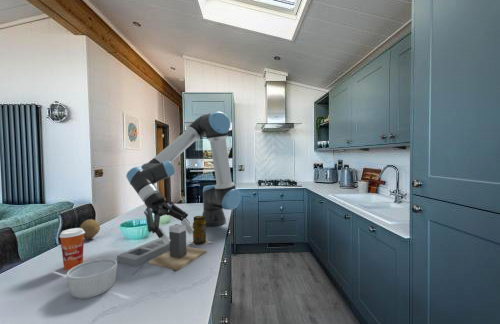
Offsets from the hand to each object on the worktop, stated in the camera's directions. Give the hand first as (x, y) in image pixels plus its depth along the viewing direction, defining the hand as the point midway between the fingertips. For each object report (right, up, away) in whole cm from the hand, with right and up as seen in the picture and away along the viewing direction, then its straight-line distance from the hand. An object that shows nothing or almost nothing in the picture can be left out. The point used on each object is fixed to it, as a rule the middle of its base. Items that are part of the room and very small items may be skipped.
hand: (180, 237), depth 96 cm
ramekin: (-21, -10, -20) cm, 31 cm away
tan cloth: (-1, -9, +1) cm, 9 cm away
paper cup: (-39, -10, -5) cm, 40 cm away
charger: (-1, -8, +1) cm, 8 cm away
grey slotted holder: (-15, -9, +5) cm, 18 cm away
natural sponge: (-53, -9, +26) cm, 60 cm away
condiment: (+4, -8, +19) cm, 21 cm away
